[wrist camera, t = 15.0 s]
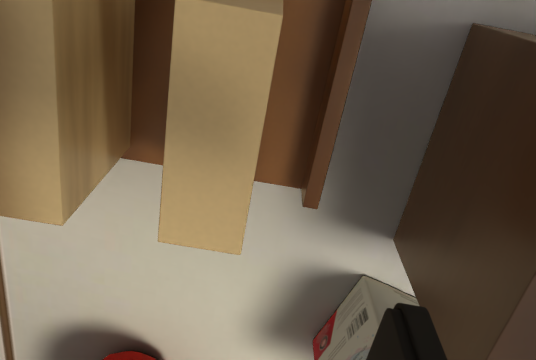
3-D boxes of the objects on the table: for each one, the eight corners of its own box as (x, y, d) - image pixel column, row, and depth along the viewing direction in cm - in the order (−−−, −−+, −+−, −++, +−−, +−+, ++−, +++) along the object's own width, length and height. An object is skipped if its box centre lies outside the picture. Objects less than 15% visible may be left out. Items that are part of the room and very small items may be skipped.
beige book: (283, -3, 25) (283, 15, 16) (253, 168, 30) (240, 255, 21) (214, -16, 25) (175, -6, 16) (195, 158, 30) (157, 242, 21)
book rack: (362, -8, 25) (419, 11, 15) (314, 185, 31) (329, 300, 20) (-108, -99, 24) (-420, -151, 13) (-68, 119, 30) (-264, 205, 19)
